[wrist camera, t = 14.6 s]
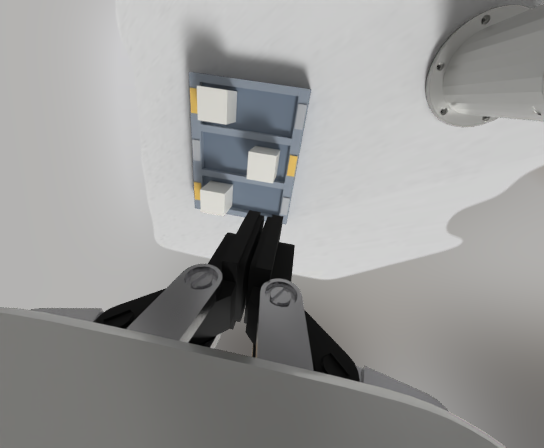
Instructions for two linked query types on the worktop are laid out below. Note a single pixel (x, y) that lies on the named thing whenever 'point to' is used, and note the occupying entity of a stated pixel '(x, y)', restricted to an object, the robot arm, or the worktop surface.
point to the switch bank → (249, 142)
